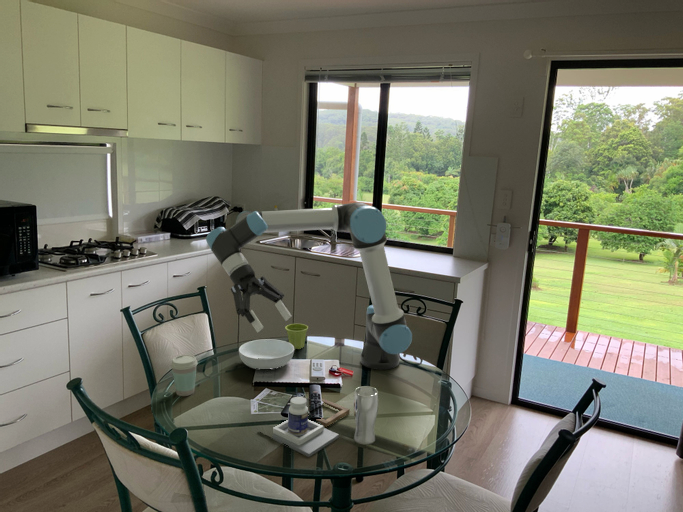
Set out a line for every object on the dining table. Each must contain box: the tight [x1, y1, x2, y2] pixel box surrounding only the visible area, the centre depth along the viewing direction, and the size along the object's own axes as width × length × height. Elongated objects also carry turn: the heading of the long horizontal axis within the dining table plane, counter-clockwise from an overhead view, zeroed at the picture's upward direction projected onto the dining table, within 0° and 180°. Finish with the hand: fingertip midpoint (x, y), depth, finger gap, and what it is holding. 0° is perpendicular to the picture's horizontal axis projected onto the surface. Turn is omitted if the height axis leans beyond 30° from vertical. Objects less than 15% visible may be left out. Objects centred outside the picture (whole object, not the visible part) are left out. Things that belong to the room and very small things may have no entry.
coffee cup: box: [170, 354, 199, 397], centre depth 181 cm, size 9×8×12 cm
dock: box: [272, 419, 340, 458], centre depth 158 cm, size 13×20×2 cm, turn 52°
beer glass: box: [353, 385, 379, 446], centre depth 155 cm, size 7×7×15 cm
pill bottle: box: [287, 396, 308, 436], centre depth 156 cm, size 6×6×10 cm
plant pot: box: [284, 323, 309, 350], centre depth 224 cm, size 9×9×9 cm
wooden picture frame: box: [308, 397, 350, 428], centre depth 170 cm, size 12×12×2 cm
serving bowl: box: [238, 338, 295, 370], centre depth 205 cm, size 21×21×7 cm
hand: (275, 324), depth 169 cm, fingers open, 13 cm apart
